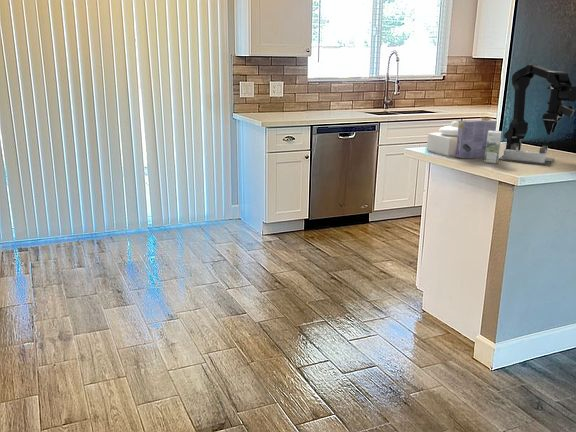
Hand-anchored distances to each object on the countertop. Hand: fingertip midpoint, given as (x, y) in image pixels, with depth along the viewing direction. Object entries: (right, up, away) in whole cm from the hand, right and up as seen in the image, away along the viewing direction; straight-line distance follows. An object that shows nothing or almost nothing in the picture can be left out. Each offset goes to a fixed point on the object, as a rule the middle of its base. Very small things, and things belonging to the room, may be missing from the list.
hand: (550, 133), depth 261 cm
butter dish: (-41, -7, +20) cm, 46 cm away
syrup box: (-30, -14, -6) cm, 34 cm away
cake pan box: (-34, -11, +7) cm, 36 cm away
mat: (-14, -14, -3) cm, 20 cm away
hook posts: (-9, -12, +4) cm, 15 cm away
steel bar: (-14, -13, -3) cm, 19 cm away
